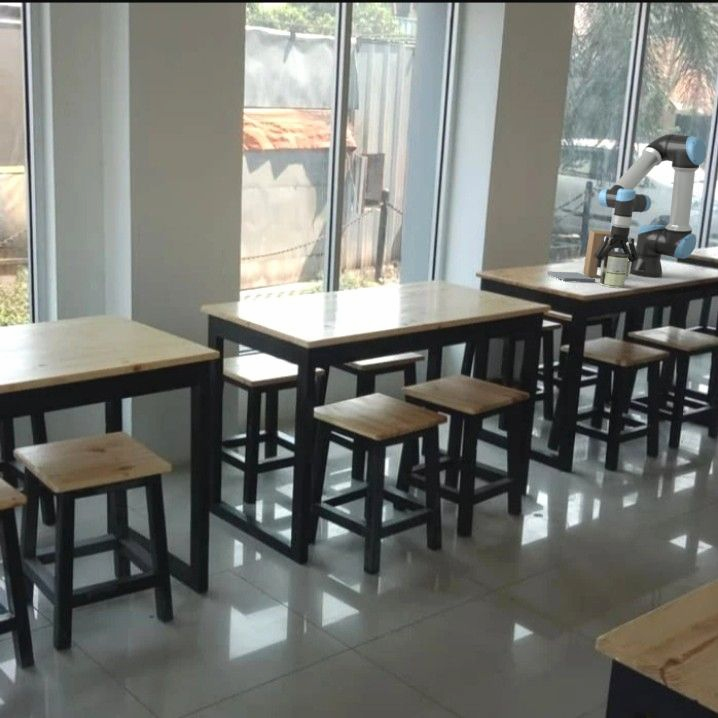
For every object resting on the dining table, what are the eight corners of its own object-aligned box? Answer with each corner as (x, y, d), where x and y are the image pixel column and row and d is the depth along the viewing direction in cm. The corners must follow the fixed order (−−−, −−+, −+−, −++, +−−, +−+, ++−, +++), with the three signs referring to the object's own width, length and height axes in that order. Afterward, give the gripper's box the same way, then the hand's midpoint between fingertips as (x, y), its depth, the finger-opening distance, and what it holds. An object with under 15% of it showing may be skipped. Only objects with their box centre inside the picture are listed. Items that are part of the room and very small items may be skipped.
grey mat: (577, 275, 461) (577, 272, 461) (594, 282, 447) (595, 279, 447) (547, 274, 456) (547, 271, 456) (564, 281, 442) (564, 278, 442)
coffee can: (594, 283, 445) (599, 250, 441) (610, 282, 451) (615, 250, 447) (612, 288, 437) (617, 255, 433) (629, 287, 443) (634, 255, 439)
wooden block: (609, 279, 460) (616, 234, 455) (587, 277, 460) (594, 232, 455) (604, 275, 470) (611, 231, 465) (582, 273, 470) (589, 229, 465)
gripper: (641, 226, 445) (633, 275, 450) (590, 223, 437) (582, 272, 442) (651, 229, 438) (643, 278, 443) (599, 225, 430) (592, 276, 435)
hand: (613, 275), depth 443 cm, fingers open, 13 cm apart
